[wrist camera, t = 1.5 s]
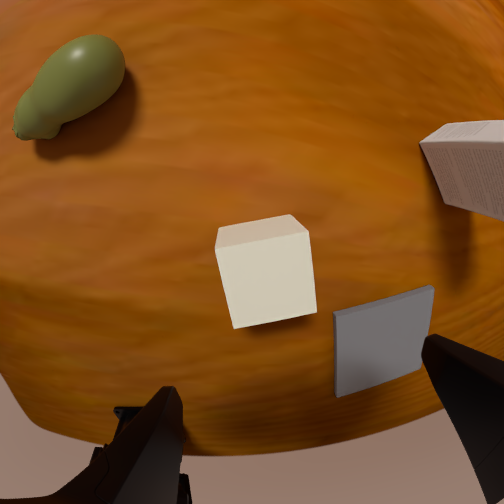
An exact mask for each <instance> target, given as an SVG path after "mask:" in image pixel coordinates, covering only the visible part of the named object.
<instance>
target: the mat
mask: <svg viewBox="0 0 504 504" xmlns="http://www.w3.org/2000/svg"><path fill="white" fill-rule="evenodd" d="M433 297H434V287H432V286H431V285H427V286H424V287H421V288H418V289H415V290H411V291H408V292H405V293H402V294H398V295H395V296H391V297H388V298H385V299H381V300H377V301H374V302H370V303H367V304H363V305H359V306H355V307H351V308H348V309H344V310H340V311H336V312H333V323H334V393H335V395H336V398H338V397H341V396H345V395H348V394H351V393H355V392H358V391H361V390H364V389H367V388H370V387H373V386H376V385H379V384H382V383H385V382H387V381H390V380H393V379H395V378H398V377H401V376H403V375H406V374H408V373H411V372H413V371H415V370H418V369H420V368H421V363H422V358H421V351H422V347H423V343H424V339H425V337H427V335H428V330H429V324H430V318H431V312H432V305H433Z"/></svg>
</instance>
